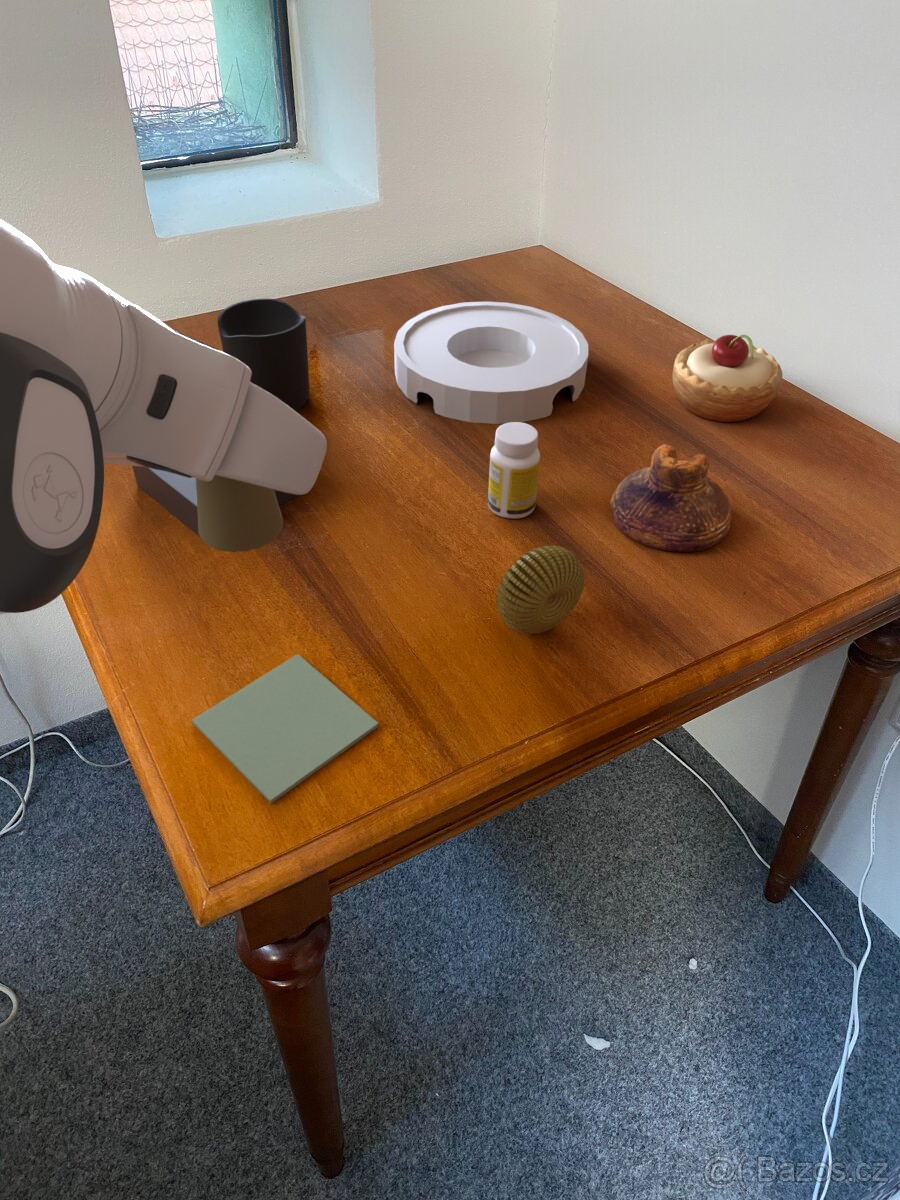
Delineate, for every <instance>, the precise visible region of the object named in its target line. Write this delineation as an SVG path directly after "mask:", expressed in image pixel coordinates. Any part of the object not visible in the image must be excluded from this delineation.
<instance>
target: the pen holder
mask: <svg viewBox="0 0 900 1200" xmlns="http://www.w3.org/2000/svg"><path fill="white" fill-rule="evenodd" d="M306 320H307V319H306V316H304V315H302V314H301V313H299V311H298V310H297V309H295V308H294V307H293V306H292V305H290V304H288V302H286V301H283V300H280V299H276V298H253V299H247V300H242V301H239V302H236V303H233V304H231V305H228V306H227V307H225V308H224V309H221V311H220V312H219V314H218V316H217V328H218V329H217V330H218V332H219V333H218V334H219V339H220V342H221V348H222V352H224V353H226V354H228V355H231V356H233V357H235V358H237V359H238V360H240V361H241V362H243V363H244V364H246V365H247V366H248V367H249V368H250V369H251V371H252V374H251V379H250V382H251V383H253V384H255V385H257V386H259V387H260V388H262V389H264V390H266V391H267V392H269V393H271V394H272V395H274V396H275V397H277V398H278V399H280V400H281V401H282V402H284V403H285V404H287V405H288V406H289V407H291V408H292V409H293V410H295V411H296V412H297V411H299V410H300V409H301V408H302V407H304V405H306V403H307V402H308V400H309V397H310V374H309V373H310V371H309V355H308V338H307V337H308V335H307V321H306Z"/></svg>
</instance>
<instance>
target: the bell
mask: <svg viewBox="0 0 900 1200" xmlns="http://www.w3.org/2000/svg"><path fill="white" fill-rule="evenodd" d="M677 458H678V455H677V450H676V449H675V447H674V446H672V445H671V444H668V443H665V444H662V445H660V446H658V447H656V449H655V450H654V452H653V454H652V456H651V461H650V466H646V467H642V468H641V469H637V470H636V471H634V472H632V473H631V474H629V475H627V476H626V477H625V478H624V479H623V480H622V481H620V483H619V484H618V485H617V487H616V488H615V491H614V492H613V494H612V496H611V499H610V501H609V507H610V509H611V513H612V517H613V523H614V524H615V526H616V527H617V528H618V530H620V531H621V532H622V533H623V534H624V535H626V536H627V537H629V538H630V539H631V540H633V541H635V542H637V543H639V544H642V545H644V546H646V547H651V548H654V549H658V550H664V551H670V552H682V553H683V552H684V553H691V552H699V551H704V550H706V549H709V548H712V547H713V546H715V545H717V544H718V543H720V542H721V541H722V540H723V539H724V537H726V536H727V534H728V533H729V532H730V531H729V530H730V528H731V523H732V518H733V516H732V508H731V505H730V502H729V498H728V497H727V495H726V494H725V492H724V490H723V489H722V487H721V486H720V485H719V484H718V483H717V482H716V481H713V480H712V479H711V478H710V477H708V472H709V468H710V461H709V459H708V457H707V456H706V455H705V454H703V453H702V454H701V453H697V454H695V455H694V456H693V457H691V458H690V459H685V460H677Z"/></svg>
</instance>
